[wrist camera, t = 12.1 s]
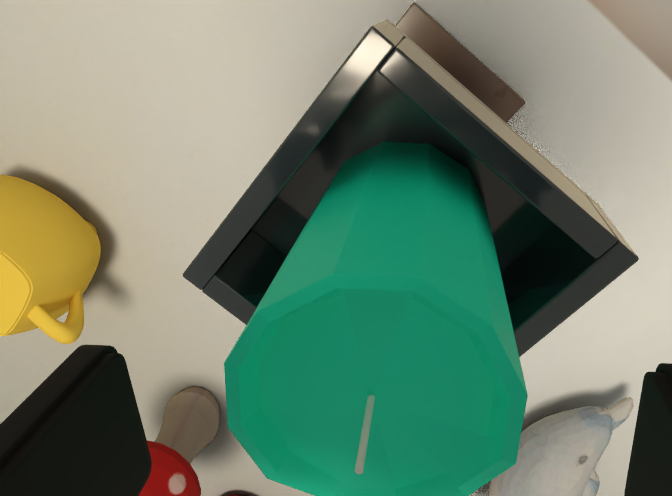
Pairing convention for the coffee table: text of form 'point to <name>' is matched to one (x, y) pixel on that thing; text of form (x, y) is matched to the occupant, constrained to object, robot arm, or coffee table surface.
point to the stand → (460, 62)
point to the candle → (383, 340)
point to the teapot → (43, 261)
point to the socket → (453, 140)
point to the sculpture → (562, 453)
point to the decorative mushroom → (181, 443)
